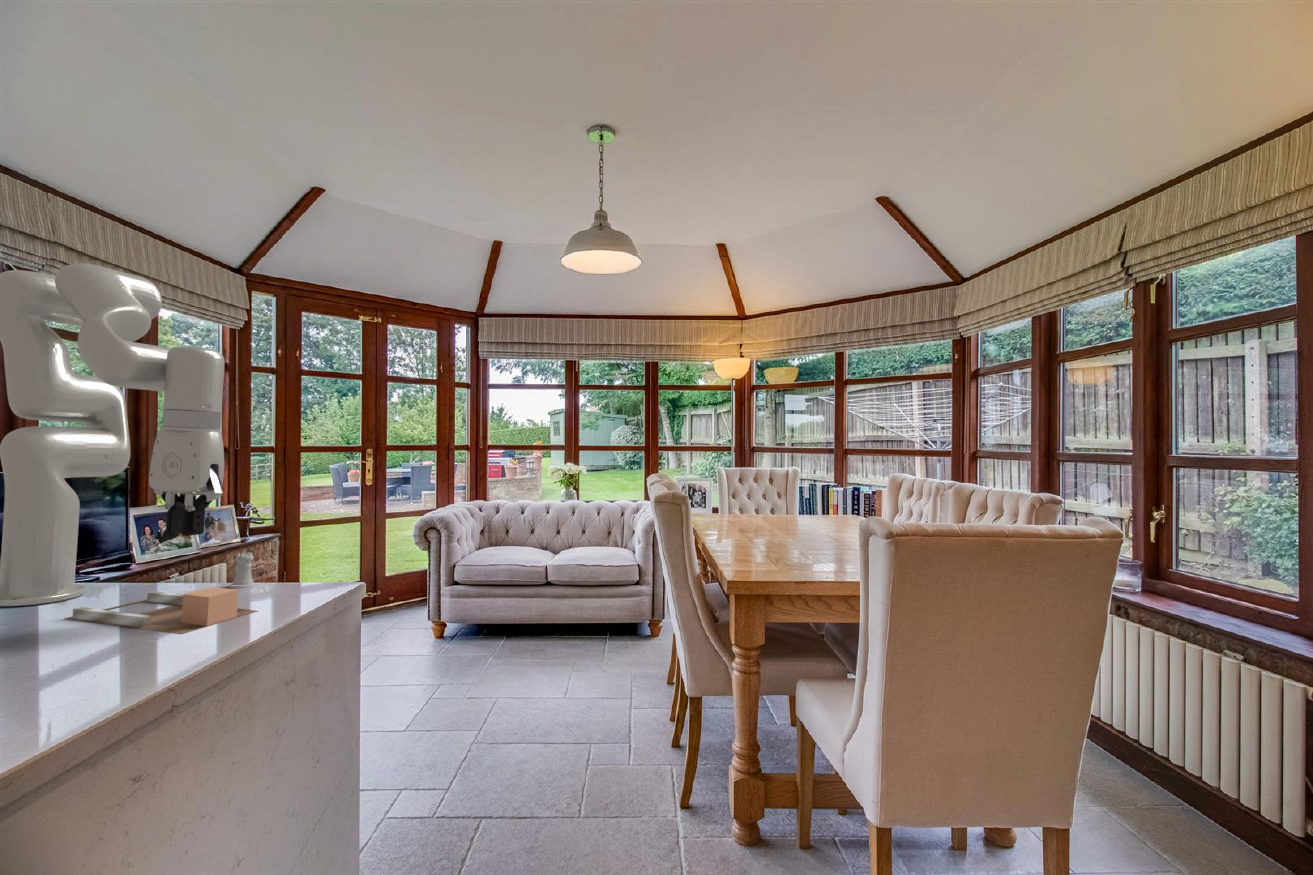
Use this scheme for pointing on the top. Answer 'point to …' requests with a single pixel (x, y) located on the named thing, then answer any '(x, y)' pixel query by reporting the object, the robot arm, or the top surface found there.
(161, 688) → the top surface
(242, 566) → the rook chess piece
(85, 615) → the tan rectangular frame
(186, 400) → the robot arm
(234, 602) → the block
